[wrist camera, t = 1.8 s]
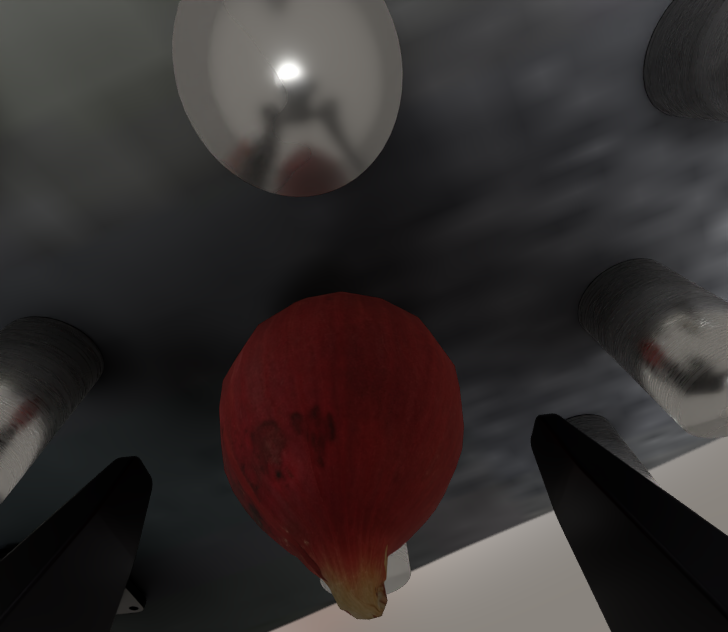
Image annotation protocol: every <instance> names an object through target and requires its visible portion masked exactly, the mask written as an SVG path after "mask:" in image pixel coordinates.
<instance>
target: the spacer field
mask: <svg viewBox="0 0 728 632" xmlns="http://www.w3.org/2000/svg"><path fill="white" fill-rule="evenodd" d="M172 58H173V66H174V75H175V79H176V84H177V88H178V92H179V95H180V98H181V101H182V104H183V107H184V110H185V112H186V114H187V116H188V118H189V120H190V122H191V125H192V126H193V128H194V130H195V131H196V133H197V135H198V136H199V138H200V139H201V141H202V142H203V143H204V145H205V146H206V147H207V149H208V150H209V151H210V152H211V154H212V155H213V156H214V157H215V158H216V159H217V160H218V161H219V162H220V163H221V164H222V165H223V166H225V167H226V168H227V169H228V170H229V171H230V172H232V173H233V174H234V175H236V176H237V177H239V178H240V179H242V180H243V181H245V182H247V183H249V184H251V185H253V186H255V187H257V188H259V189H262V190H265V191H267V192H270V193H274V194H279V195H283V196H293V197H307V196H314V195H321V194H324V193H327V192H331V191H334V190H336V189H338V188H340V187H342V186H344V185H346V184H348V183H349V182H351V181H352V180H354V179H356V178H357V177H358V176H359V175H360V174H361V173H363V172H364V171H365V170H366V169H367V168H368V167H369V166H370V165H371V164H372V163H373V162H374V160H375V159H376V158H377V156H378V155H379V154H380V152H381V151H382V149H383V148H384V146H385V144H386V142H387V140H388V138H389V137H390V134H391V132H392V129H393V127H394V124H395V122H396V118H397V114H398V111H399V107H400V101H401V94H402V78H403V71H402V57H401V51H400V45H399V40H398V36H397V32H396V29H395V26H394V22H393V19H392V17H391V15H390V13H389V10H388V8H387V6H386V3H385V1H384V0H180V2H179V5H178V9H177V13H176V17H175V22H174V30H173V38H172ZM644 82H645V88H646V91H647V94H648V96H649V98H650V100H651V102H652V103H653V104H654V106H655V107H656V108H658V109H659V110H660V111H662V112H664V113H665V114H668V115H671V116H678V117H686V118H695V119H704V120H712V121H721V122H728V0H674V1H673V2H672V4H671V5H670V6H669V7H668V9H667V10H666V12H665V13H664V15H663V16H662V18H661V20H660V21H659V23H658V25H657V27H656V29H655V31H654V33H653V36H652V38H651V40H650V44H649V47H648V50H647V54H646V59H645V66H644ZM578 317H579V321H580V323H581V325H582V327H583V328H584V329H585V330H586V331H587V332H588V333H589V334H590V335H591V336H592V337H593V338H594V339H595V340H596V341H597V342H598V343H599V344H600V345H601V346H602V347H603V348H604V349H605V350H606V351H607V352H608V353H609V354H610V355H611V356H612V357H613V358H614V359H615V360H616V362H617V363H618V364H619V365H620V366H621V367H622V368H623V369H624V370H625V371H626V372H627V373H628V374H629V375H630V376H631V377H632V378H633V379H634V380H635V381H636V382H637V383H638V384H639V385H640V386H641V387H642V388H643V389H644V390H645V391H646V392H647V393H648V394H649V395H650V396H651V397H652V398H653V399H654V400H655V401H656V402H657V403H658V404H659V405H660V406H661V407H662V408H663V409H664V410H665V411H666V412H667V413H668V414H669V415H670V416H671V417H672V418H673V419H674V420H675V421H676V422H677V423H678V424H679V425H680V426H681V427H682V428H683V429H684V430H685V431H686V432H687V433H689V434H691V435H693V436H697V437H702V438H719V437H726V436H728V302H726V301H724V300H723V299H721V298H719V297H717V296H716V295H714V294H712V293H710V292H709V291H707V290H705V289H703V288H702V287H700V286H698V285H696V284H695V283H693V282H691V281H689V280H688V279H686V278H684V277H683V276H681V275H679V274H677V273H676V272H674V271H672V270H670V269H669V268H667V267H665V266H663V265H662V264H660V263H658V262H656V261H653V260H649V259H635V260H629V261H626V262H623V263H620V264H617V265H615V266H613V267H611V268H610V269H608V270H606V271H605V272H604V273H602V274H601V275H600V276H598V277H597V278H596V279H595V280H594V281H593V282H592V283H591V284H590V286H589V287H588V288H587V290H586V291H585V293H584V294H583V296H582V298H581V301H580V304H579V308H578ZM103 369H104V363H103V358H102V355H101V353H100V351H99V349H98V348H97V346H96V345H95V344H94V343H93V342H92V341H91V340H90V339H89V338H88V337H87V336H86V335H85V334H83V333H82V332H80V331H79V330H77V329H76V328H74V327H72V326H70V325H68V324H65V323H63V322H60V321H57V320H53V319H49V318H43V317H27V318H22V319H18V320H16V321H14V322H12V323H10V324H9V325H7V326H6V327H5V328H3V329H2V330H1V331H0V504H1V503H2V502H3V501H4V499H5V498H6V497H7V496H8V494H9V493H10V492H11V490H12V489H13V488H14V487H15V485H16V484H17V483H18V482H19V480H20V479H21V478H22V476H23V475H24V474H25V473H26V471H27V470H28V469H29V467H30V466H31V465H32V464H33V462H34V461H35V460H36V459H37V457H38V456H39V455H40V453H41V452H42V451H43V450H44V448H45V447H46V446H47V444H48V443H49V442H50V441H51V439H52V438H53V437H54V436H55V434H56V433H57V432H58V430H59V429H60V428H61V427H62V425H63V424H64V423H65V421H66V420H67V419H68V418H69V416H70V415H71V414H72V413H73V411H74V410H75V409H76V407H77V406H78V405H79V404H80V402H81V401H82V400H83V399H84V397H85V396H86V395H87V393H88V392H89V391H90V390H91V388H92V387H93V386H94V384H95V383H96V382H97V381H98V379H99V378H100V377H101V375H102V373H103ZM566 421H568V422H569V423H570V424H572V425H573V426H575V427H576V428H577V429H579V430H580V431H582V432H583V433H584V434H586V435H587V436H589V437H590V438H591V439H593V440H594V441H596V442H597V443H598V444H600V445H601V446H603V447H604V448H606V449H607V450H608V451H610V452H611V453H613V454H614V455H615V456H617V457H618V458H620V459H621V460H622V461H624V462H625V463H627V464H628V465H629V466H631V467H632V468H634V469H635V470H636V471H638V472H639V473H641V474H642V475H643V476H645V477H646V478H648V479H649V480H650V481H652V482H653V483H655V484H656V485H657V486H659V484H658V483H657V482H656V481H655V479H654V478H653V477H652V476H651V475H650V473H649V472H648V471H647V469H646V468H645V467H644V466H643V464H642V463H641V462H640V460H639V459H638V458H637V457H636V455H635V454H634V453H633V452H632V450H631V449H630V448H629V447H628V445H627V444H626V443H625V442H624V440H623V439H622V438H621V437H620V435H619V434H618V433H617V431H616V430H615V429H614V428H613V426H612V425H611V424H610V423H609V422H608V421H607V420H606V419H605V418H603V417H600V416H596V415H582V416H577V417H573V418H570V419H568V420H566ZM659 487H660V486H659ZM660 488H661V487H660ZM410 576H411V571H410V565H409V558H408V551H407V545H406V543H405V544H404V545H403V546H402V547H401V548H399V549H398V550H396V551H395V552H393V553H392V554H391V555H389V556H388V564H387V578H386V580H385V582H384V585H385V590H386V594H389V593H391V592H394V591H396V590H398V589H400V588H401V587H403V586H404V585H405V584H406V583H407V582H408V580H409V579H410ZM320 582H321V585H322V587H323V588H324V589H325V590H326V591H328V592H330V593H332V592H331V590H330V588H329V587H328V586H327V585H326V583H325V582H324V581H323V580H322V579H321V578H320Z"/></svg>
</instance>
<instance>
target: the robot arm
mask: <svg viewBox="0 0 728 632" xmlns="http://www.w3.org/2000/svg"><path fill="white" fill-rule="evenodd" d="M531 447H532V450H533V453H534V456H535V459H536V462H537V464H538V467H539V470H540V473H541V476H542V478H543V481H544V484H545V487H546V490H547V492H548V495H549V498H550V501H551V504H552V506H553V509H554V511H555V514H556V516H557V519H558V521H559V523H560V525H561V527H562V529H563V532H564V534H565V536H566V538H567V540H568V542H569V544H570V546H571V548H572V550H573V552H574V555H575V557H576V559H577V561H578V563H579V565H580V567H581V569H582V571H583V574H584V576H585V578H586V580H587V582H588V584H589V586H590V588H591V590H592V592H593V595H594V596H595V599H596V601H597V602H598V605H599V607H600V609H601V611H602V613H603V615H604V618H605V620H606V622H607V624H608V626H609V628H610V630H611V632H728V536H727V535H726V534H724V533H723V532H722V531H720V530H719V529H717V528H716V527H715V526H713V525H712V524H710V523H709V522H708V521H706V520H705V519H703V518H702V517H701V516H699V515H698V514H697V513H695V512H694V511H692V510H691V509H690V508H688V507H687V506H685V505H684V504H683V503H681V502H680V501H678V500H677V499H676V498H674V497H673V496H671V495H670V494H669V493H667V492H666V491H664V490H663V489H662V488H660V487H659V486H657V485H656V484H655V483H653V482H652V481H650V480H649V479H648V478H646V477H645V476H643V475H642V474H641V473H639V472H638V471H636V470H635V469H634V468H632V467H631V466H629V465H628V464H627V463H625V462H624V461H622V460H621V459H620V458H618V457H617V456H615V455H614V454H613V453H611V452H610V451H608V450H607V449H606V448H604V447H603V446H601V445H600V444H598V443H597V442H596V441H594V440H593V439H591V438H590V437H589V436H587V435H586V434H584V433H583V432H582V431H580V430H579V429H577V428H576V427H575V426H573V425H572V424H570V423H569V422H568V421H566V420H565V419H563V418H562V417H561V416H559V415H557V414H543V415H538V416H537V417H536V420H535V423H534V428H533V432H532V436H531ZM151 491H152V478H151V476H150V474H149V473H148V471H147V469H146V468H145V466H144V464H143V463H142V461H141V459H140V458H139V457H137V456H130V457H121V458H118V459H116V460H114V461H113V462H112V463H111V464H110V465H108V466H107V467H106V468H105V469H104V470H103V471H102V472H100V473H99V474H98V475H97V476H96V477H95V478H94V479H92V480H91V481H90V482H89V483H88V484H87V485H86V486H85V487H83V488H82V489H81V490H80V491H79V492H78V493H77V494H75V495H74V496H73V497H72V498H71V499H70V500H69V501H67V502H66V503H65V504H64V505H63V506H62V507H61V508H60V509H58V510H57V511H56V512H55V513H54V514H53V515H52V516H50V517H49V518H48V519H47V520H46V521H45V522H44V523H42V524H41V525H40V526H39V527H38V528H37V529H36V530H35V531H33V532H32V533H31V534H30V535H29V536H28V537H27V538H25V539H24V540H23V541H22V542H21V543H20V544H19V545H17V546H16V547H15V548H14V549H13V550H12V551H11V552H6V553H0V632H110V630H111V628H112V625H113V622H114V619H115V616H116V614H125V613H135V612H141V611H143V609H144V606H145V604H146V601H147V600H146V598H145V597H144V596H143V595H142V594H141V593H140V591H139V590H138V589H137V588H136V587H135V586H134V584H133V583H132V582H131V581H130V580H129V579H128V578H129V576H130V573H131V570H132V566H133V563H134V560H135V557H136V553H137V549H138V545H139V541H140V537H141V533H142V529H143V525H144V520H145V516H146V512H147V508H148V504H149V500H150V495H151Z"/></svg>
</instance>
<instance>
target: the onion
mask: <svg viewBox="0 0 728 632" xmlns="http://www.w3.org/2000/svg"><path fill="white" fill-rule="evenodd" d="M219 415H220V433H221V447H222V455H223V463H224V470H225V473H226V475H227V478H228V480H229V483H230V485H231V488H232V490H233V492H234V494H235V495H236V497H237V498H238V500H239V501H240V503H241V504H242V506H243V507H244V509H245V510H246V512H247V513H248V514H249V515H250V516H251V517H252V519H253V520H254V521H255V522H256V523H257V524H258V526H259V527H260V528H261V529H262V530H263V531H265V532H266V533H267V534H268V535H269V536H270V537H271V538H272V539H274V540H275V541H276V542H277V543H278V544H279V545H281V546H282V547H283V548H284V549H286V550H287V551H288V552H289V553H291V554H292V555H294V556H296V557H298V558H299V559H300V561H301V562H302V563H303V564H304V565H305V566H306V567H307V568H308V569H309V570H310V571H311V572H313V573H314V574H315V575H317V576H318V577H320V578H321V579H322V580H323V581H324V582H325V583H326V585H327V586H328V587H329V588H330V590H331V592H332V594H333V596H334V598H335V600H336V602H337V604H338V606H339V607H340V609H342V610H344V611H346V612H347V613H349V614H350V615H352V616H353V617H355V618H356V619H373V618H377V617H380V616H382V614H383V611H384V609H385V606H386V604H387V596H386V590H385V585H384V582H385V580H386V578H387V564H388V556H389V555H391V554H392V553H393V552H395V551H396V550H398V549H399V548H401V547H402V546H403V545H404V544H405V543H406V542H407V541H408V540H409V539H410V538H411V537H412V536H413V535H414V534H415V533H416V532H417V531H418V530H419V529H420V527H421V526H422V525H423V524H424V523H425V522H426V521H427V520H428V518H429V517H430V516H431V515H432V513H433V512H434V511H435V510H436V508H437V506H438V504H439V503H440V501H441V499H442V498H443V496H444V494H445V492H446V489H447V487H448V485H449V483H450V480H451V478H452V476H453V473H454V471H455V469H456V466H457V463H458V460H459V457H460V454H461V451H462V444H463V431H464V423H463V414H462V404H461V395H460V387H459V383H458V378H457V374H456V370H455V365H454V364H453V363H452V361H451V360H450V359H449V357H448V356H447V354H446V353H445V352H444V350H443V349H442V348H441V346H440V345H439V343H438V342H437V341H436V339H435V338H434V337H433V335H432V334H431V332H430V331H429V330H428V329H427V327H426V326H425V325H424V324H423V322H422V321H421V320H420V319H419V318H418V317H417V316H415V315H413V314H411V313H409V312H407V311H405V310H403V309H401V308H399V307H397V306H395V305H393V304H391V303H389V302H388V301H386V300H384V299H382V298H377V297H371V296H365V295H359V294H353V293H348V292H342V291H341V292H335V293H330V294H324V295H319V296H313V297H308V298H305V299H302V300H300V301H297V302H295V303H293V304H292V305H290V306H288V307H287V308H285V309H284V310H282V311H280V312H279V313H277V314H275V315H274V316H272V317H270V318H269V319H267V320H265V321H264V322H262V323H260V324H259V325H258V326H257V328H256V329H255V331H254V332H253V333H252V335H251V336H250V338H249V339H248V341H247V342H246V344H245V345H244V347H243V348H242V350H241V351H240V353H239V354H238V356H237V357H236V359H235V361H234V363H233V364H232V366H231V368H230V369H229V371H228V373H227V375H226V376H225V378H224V380H223V385H222V392H221V399H220V406H219Z"/></svg>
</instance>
